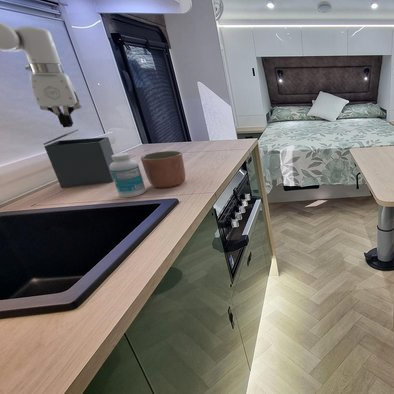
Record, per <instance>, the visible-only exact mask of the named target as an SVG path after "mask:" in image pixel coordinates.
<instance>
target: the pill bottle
mask: <svg viewBox="0 0 394 394" xmlns="http://www.w3.org/2000/svg"><path fill="white" fill-rule="evenodd" d="M113 154H114V153H113ZM131 157H132V156H131V154H130V153H129V152H119V153H115V154H114V155H112V159H113V160H114V162H112V163H111V164H110V166H109V167H110V170H111V173H112V176H113V179H114V181H113V183H114V184H115V188H116V190H117V194H118V196H119V197H121V198H133V197H137V196H140V195H142V194H144V193H145V192H146V190H147V189H146V186H145V183H144V179H143V176H142V173H141V169H140V166H139V162H138V161H137V160H135V159H131Z"/></svg>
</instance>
